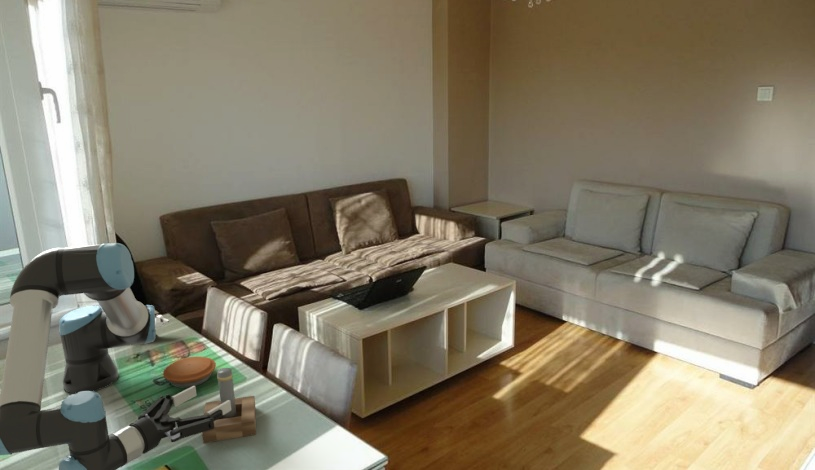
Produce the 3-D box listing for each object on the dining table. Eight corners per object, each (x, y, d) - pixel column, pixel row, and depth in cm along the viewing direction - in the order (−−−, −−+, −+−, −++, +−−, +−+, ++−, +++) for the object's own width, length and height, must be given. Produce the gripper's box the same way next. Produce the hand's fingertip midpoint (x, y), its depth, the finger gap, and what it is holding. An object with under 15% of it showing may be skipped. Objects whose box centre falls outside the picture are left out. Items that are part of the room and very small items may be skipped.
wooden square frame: (207, 415, 159) (205, 402, 158) (255, 408, 162) (254, 395, 161) (203, 442, 147) (201, 429, 146) (255, 434, 150) (254, 421, 149)
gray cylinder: (223, 422, 156) (217, 368, 152) (238, 419, 157) (232, 366, 153) (222, 430, 153) (216, 375, 148) (237, 427, 153) (231, 373, 149)
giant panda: (126, 344, 205) (122, 319, 203) (131, 337, 210) (128, 313, 208) (169, 341, 207) (165, 316, 204) (173, 334, 212) (170, 310, 210)
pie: (220, 384, 176) (219, 369, 175) (166, 396, 170) (164, 381, 169) (213, 363, 190) (211, 349, 189) (162, 373, 183) (160, 359, 182)
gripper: (107, 437, 139) (183, 397, 156) (171, 473, 125) (246, 425, 142) (102, 409, 137) (179, 372, 154) (167, 442, 123) (244, 397, 140)
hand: (212, 397), depth 148 cm, fingers open, 13 cm apart
